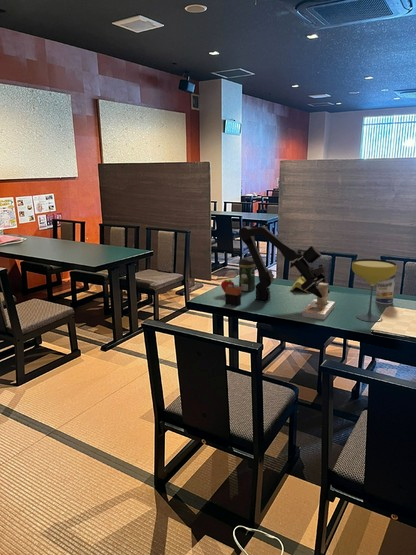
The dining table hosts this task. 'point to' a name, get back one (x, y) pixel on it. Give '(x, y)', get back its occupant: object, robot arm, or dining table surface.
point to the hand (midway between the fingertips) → (325, 295)
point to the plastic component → (299, 283)
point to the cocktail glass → (373, 278)
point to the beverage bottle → (385, 290)
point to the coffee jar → (247, 274)
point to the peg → (323, 293)
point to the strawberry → (226, 284)
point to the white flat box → (318, 310)
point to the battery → (233, 295)
